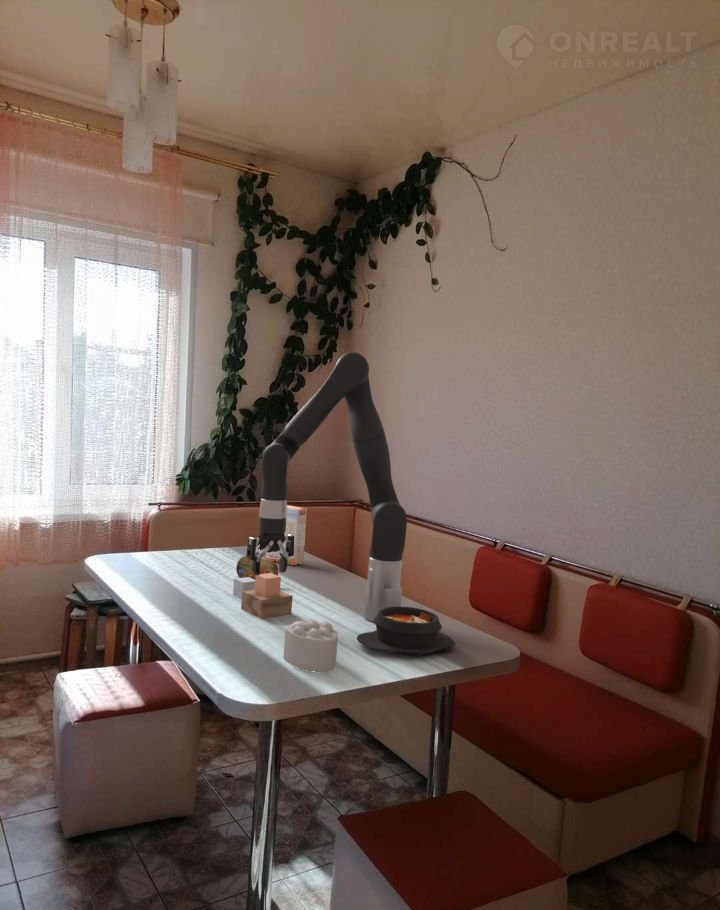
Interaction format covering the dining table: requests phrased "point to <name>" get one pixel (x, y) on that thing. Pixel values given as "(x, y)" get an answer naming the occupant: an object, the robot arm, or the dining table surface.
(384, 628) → the casserole
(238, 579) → the grey-blue cube
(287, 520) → the cracker box
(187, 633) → the dining table surface
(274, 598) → the walnut block
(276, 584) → the terracotta cube
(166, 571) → the dining table surface
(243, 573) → the tin
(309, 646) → the lumpy-topped squat cylinder
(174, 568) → the dining table surface
